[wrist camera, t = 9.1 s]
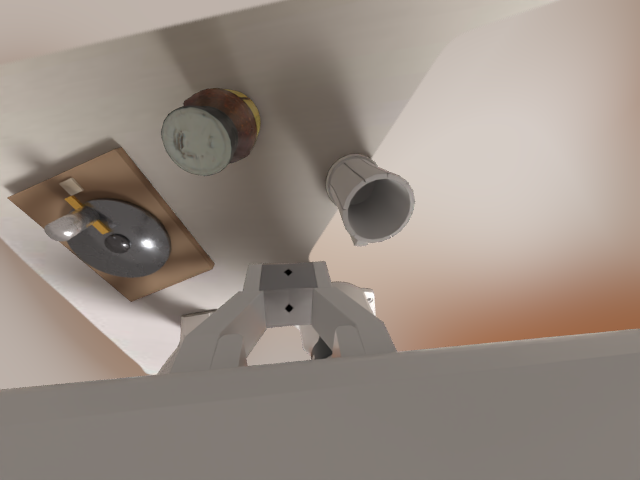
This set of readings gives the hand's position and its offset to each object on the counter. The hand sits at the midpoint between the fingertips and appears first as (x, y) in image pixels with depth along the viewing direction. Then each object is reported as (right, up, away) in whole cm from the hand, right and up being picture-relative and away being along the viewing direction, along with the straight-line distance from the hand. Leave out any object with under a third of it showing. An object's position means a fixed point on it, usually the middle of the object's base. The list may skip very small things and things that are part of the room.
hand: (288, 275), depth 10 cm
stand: (-28, +2, +27) cm, 39 cm away
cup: (+7, +10, +29) cm, 31 cm away
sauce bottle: (-10, +18, +22) cm, 29 cm away
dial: (-28, +2, +25) cm, 38 cm away
